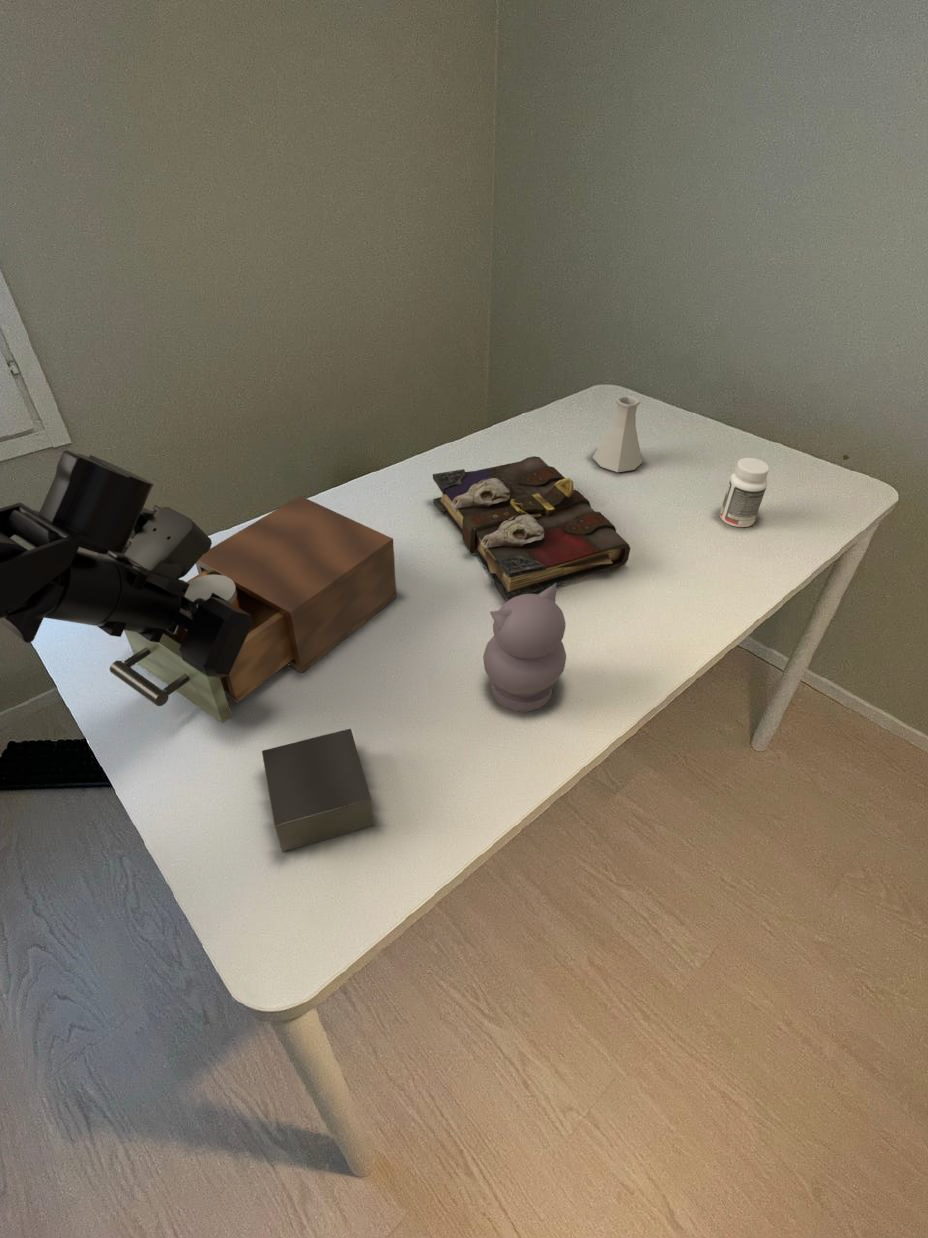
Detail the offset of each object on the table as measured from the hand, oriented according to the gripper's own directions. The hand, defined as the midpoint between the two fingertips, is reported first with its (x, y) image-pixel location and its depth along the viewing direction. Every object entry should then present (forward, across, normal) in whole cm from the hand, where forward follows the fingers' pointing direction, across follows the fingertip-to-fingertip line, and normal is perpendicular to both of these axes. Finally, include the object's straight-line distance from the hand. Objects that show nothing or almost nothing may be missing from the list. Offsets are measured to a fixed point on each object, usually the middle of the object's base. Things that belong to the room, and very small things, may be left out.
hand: (228, 618), depth 73 cm
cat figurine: (+14, -27, -6) cm, 31 cm away
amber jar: (+1, 0, +3) cm, 4 cm away
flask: (+49, -14, -41) cm, 65 cm away
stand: (-2, -20, +10) cm, 22 cm away
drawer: (+2, 0, +5) cm, 5 cm away
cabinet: (+11, 0, -3) cm, 11 cm away
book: (+31, -12, -23) cm, 40 cm away
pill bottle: (+46, -34, -38) cm, 69 cm away
